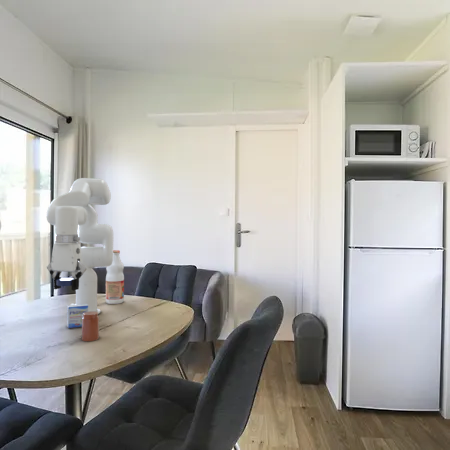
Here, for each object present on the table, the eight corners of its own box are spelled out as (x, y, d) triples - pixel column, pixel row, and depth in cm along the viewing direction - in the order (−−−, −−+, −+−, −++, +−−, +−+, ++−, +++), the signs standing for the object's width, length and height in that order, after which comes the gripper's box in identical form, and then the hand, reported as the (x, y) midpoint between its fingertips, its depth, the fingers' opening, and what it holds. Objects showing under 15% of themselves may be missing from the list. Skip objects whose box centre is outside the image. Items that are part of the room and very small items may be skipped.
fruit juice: (102, 302, 200) (102, 250, 199) (118, 299, 206) (118, 249, 206) (110, 305, 193) (111, 251, 193) (127, 302, 200) (127, 250, 199)
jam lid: (62, 282, 138) (62, 277, 138) (79, 283, 137) (79, 278, 137) (52, 285, 131) (52, 280, 131) (70, 286, 130) (70, 281, 130)
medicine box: (67, 328, 151) (67, 307, 151) (66, 325, 155) (67, 305, 155) (88, 326, 155) (88, 305, 155) (86, 323, 159) (86, 303, 159)
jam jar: (78, 340, 136) (78, 314, 136) (88, 335, 142) (88, 310, 142) (92, 341, 135) (92, 315, 135) (102, 336, 141) (102, 311, 141)
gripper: (93, 239, 135) (93, 288, 136) (53, 238, 140) (52, 286, 140) (81, 240, 128) (80, 292, 128) (38, 239, 132) (38, 289, 132)
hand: (66, 288), depth 134 cm, fingers closed on jam lid, 6 cm apart
